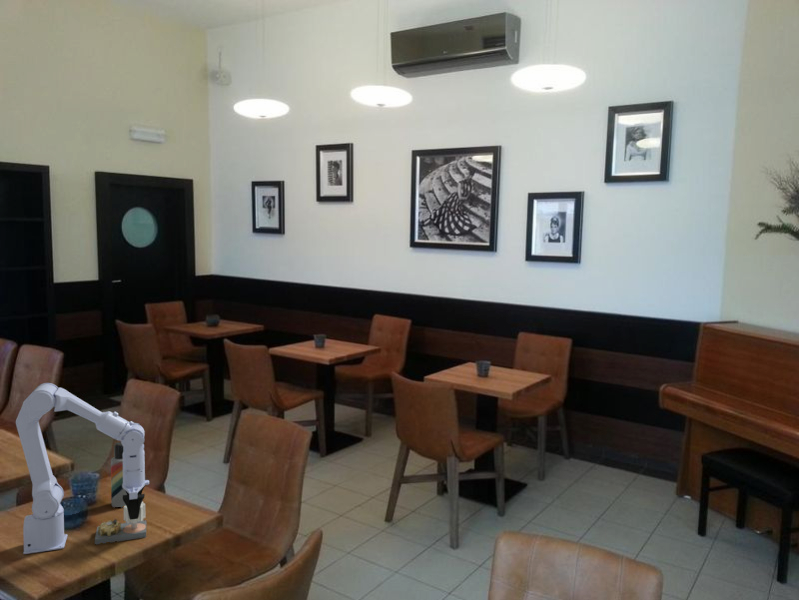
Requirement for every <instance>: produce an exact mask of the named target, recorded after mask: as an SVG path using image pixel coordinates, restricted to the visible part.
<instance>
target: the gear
mask: <svg viewBox="0 0 799 600" xmlns="http://www.w3.org/2000/svg"><path fill="white" fill-rule="evenodd" d="M121 524H122V522H120V520H117V519H116V518H115V519H113V520H112V519H109V520H108V521H106V522H105V521H104V522H101V524H100V525H98V526H97V527H98V534H100V536H103V535H107V536H111V535H112V534H117V533H118V531H121Z"/></svg>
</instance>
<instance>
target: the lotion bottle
mask: <svg viewBox="0 0 799 600" xmlns="http://www.w3.org/2000/svg"><path fill="white" fill-rule="evenodd" d="M113 456H114V457H111V459H110V485H111V486H110V489H111V491H110V493H111V494H110V495H111V496H110V499H111V503H110V504H111V506H112V508H115V507H121V508H123V506H126V504H125V502H124V501H123V495H127V493H126V491H125V490H124V489H123V487H122V484H123V445H122V443H121V441H119V442H115V443H114V445H113Z"/></svg>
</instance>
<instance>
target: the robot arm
mask: <svg viewBox="0 0 799 600" xmlns="http://www.w3.org/2000/svg"><path fill="white" fill-rule="evenodd" d="M53 408H54V409H53ZM52 409H53V410H54V411H53V412H62V411H68V412H71V413H73V414H75V415H77V416H79V417H81V418H83V419H86V420H88V421H90V422H92V423H94V424H95V428H96V430H97V431H99V432H101V433H103V434H105V435H106V436H108V437H110V438H112V439H113V440H116V441H119V442H121V443H122V445H123V484H122V487H123V489H124V490H125V491H126V493H127V495H123V501H124V502H125V504H126V506H127V509H128V514H129V518H130V520H131V519H138V517H139V512H140V506H141V503H142V502H144V501H143V500H144V498H145V496H146V495H145V493H143V490H144V489H145V487H146V486H148V485H150V480H149V479H146V473H145V472H146V471H145V470H146V469H145V468H146V467H145V465H146V464H145V460H146V459H145V458H146V457H145V455H146V453H145V444H144V443H145V433H146V431H145V429H144V427H143V426H142V425H140V423H138V422H134V421H132V420H130V421H128V420H127V419H125V418H123V417H121V416H120V415H119V413H118V412H117V411H114V412H112V411H109V410H108V411H103V412H102V411H100V410H99V409H97V408H95V406H92V405H91V404H89V403H88V402H86V401H84V400H83V399H81V398H79V397H77V395H75V394H73V393H71V392H69V391H68V390H67V389H65V388H63V387H58V386H57V385H56V384H54V383H51V382H44V383H41V384H39V385H38V386H37V387H36V388H34V390H33V391H32V392H31V393H30V394H29V395H28V397H26V398H25V400H24V401H23V402H22V405H21V408H20V410H19V412H18V415H17V417H16V420H15V426H16V430H17V432H18V435H19V436H18V437H19V439H20V444H21V447H22V452H23V454H24V458H25V461H26V466H27V469H28V473H29V477H30V480H31V483H32V486H31V487H32V490H31V496H32V501H33V502H32V505H31V511H32V514H30V515H25V517H24V520H23V526H22V527H23V528H22V530H23V555H27V554H35V553H43V552H49V551H55V550H62V549H64V548H65V546H66V541H67V539H68V534H67V533H65V517H64V514H65V513H64V512H65V510H64V507H63V506H62V504H61V502H62V500H63V498H64V495H65V492H64V491H65V490H64V489H63V487H62V486H61V485H60V484H59V483H58V480H57V478H56V477H55V475H53V474H54V473H53V471H52V467H51V463H50V459H49V455H48V452H47V448H46V444H45V440H44V438H43V433H42V429H41V426H40V420H41V418H42V417H43V416H44V415H45V414H47V413H48V412H50V411H51V410H52Z"/></svg>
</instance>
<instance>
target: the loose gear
mask: <svg viewBox="0 0 799 600" xmlns="http://www.w3.org/2000/svg"><path fill="white" fill-rule="evenodd" d="M122 508H123V521H125V523H129V522H130V523H132V522H133V523H136V522H138V521H144V519H146V503H144V501H142V503H141V506H140V512H139V517H138V519H131V520H130V518H129V514H128V509H127V506H124V507H122Z"/></svg>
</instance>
